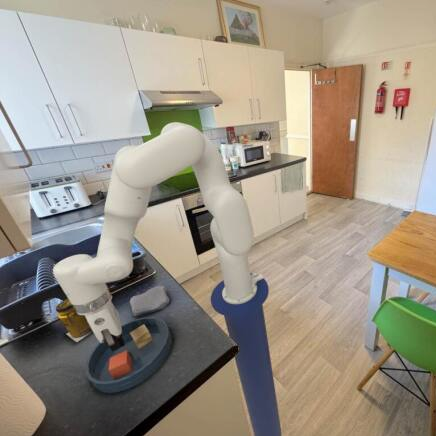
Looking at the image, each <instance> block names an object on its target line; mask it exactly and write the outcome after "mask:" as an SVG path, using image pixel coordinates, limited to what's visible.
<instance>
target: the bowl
mask: <svg viewBox="0 0 436 436" xmlns="http://www.w3.org/2000/svg"><path fill="white" fill-rule="evenodd" d="M143 324H144V325H145V326H146V328H147V329H148V331H149V333H150V335H151V337H152V339H153V340H152V341H150V342H149V343H147V344H146V345H144V346H143V347H141V348H140V349H139V348H138V347H137V345H136V344H135V342H134V340H133V338H132V336H131V334H130V332H132V331H134V330H135V329H137V328H138V327H140V326H142V325H143ZM121 328H122V333H121V335H122V337H123V339H124V343H125V345H124V346H122V347H120V348H119V349H117V350H115V351H112V350H111V349H110V347H109V345H108V343H107V341H106V340H105V338H104V343H100V342H99V343H97V344H96V346H95V347H94V348H93V349H92V351H91V352H90V354H89V356H88V358H87V361H86V364H85V375H86V376H87V379H88V380H89V381H90V382H91V384H92V385H93V387H94V388H96V389H97V390H98V391H99V392H102V393H108V394H110V393H111V394H114V393H119V392H120V393H121V392H124V391H127V390H129V389H132V388H133V387H136V386H137V385H139V384H141V383H142V382H144V381H145V380H147V379H148V378H150V377H151V376H152V375H153V374H154V373H155V372H156V371H157V370H158V369H160V367H161V366H162V365H163V363H164V362H165V360H166V359H167V357H168V356H169V354H170V351H171V348H172V346H173V345H172V343H173V337H172V334H171V332H170V331H171V330H170V329H169V326H168V324H167V322H165V321H164V320H163V319H162V318H159V317H154V316H153V317H152V316H146V317H140V318H137V319H136V318H135V319H133V320H130V321H128V322H126V323H124V324H121ZM124 351H128V353H129V355H130V357H131V359H132V371H131V372H129V373H127V374H125V375H123V376H121V377H119V378H116V379H114V378H113V376H112V375H111V373H110V372H109V362H110V358H111V357H113V356H115V355H118V354H120V353H122V352H124Z"/></svg>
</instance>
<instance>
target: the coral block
mask: <svg viewBox="0 0 436 436" xmlns="http://www.w3.org/2000/svg"><path fill="white" fill-rule="evenodd" d="M131 371H132V359H131V357H130V355H129V353H128V351H124V352H122V353H120V354H118V355H115V356H113V357H111V358H110V362H109V372H110V373H111V375H112V376H113V378H114V379H116V378H119V377H121V376H123V375H125V374H127V373H129V372H131Z"/></svg>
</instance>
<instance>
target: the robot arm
mask: <svg viewBox="0 0 436 436" xmlns="http://www.w3.org/2000/svg"><path fill="white" fill-rule="evenodd" d="M189 167H191V169H192V170H193V174H194V175H195V176H194V177H195V178H196V180H197V184H198V187H199V190H200V194H201V197H202V202H203V205H204V207H205V208H206V209H207V211H208V212H209V213H210V214H211V215H212V216H213V218H212V220H211V222H210V227H209V229H210V235H211V238H212V241H213V243H214V247H215V251H216V253H217V257H218V262H219V267H220V271H221V276H222V279H223V280H224V284H225V287H224V289H223V291H222V296H223V299H224V300H225V301H226V302H227V303H230V304H242V303H245V302H247V301H249V300H251V299H252V298H253V297H254V296H255V294H256V292H257V285H256V283H257V281H259V280H261V279H263V278H264V276H263V274H262V273H260V274H257V273H256V272H254V273H252V275H250V273H251V269H250V263H249V257H248V252H249V251H250V250H251V249H252V247H253V245H254V243H255V234H254V227H253V224H252V223H253V222H252V219H251V215H250V210H249V207H248V204H247V201H246V199H245V197H244V196H243V195H242V193H241V192H240V191H238V190H237V189H235V188H234V187H233V185H232V184H231V181H230V178H229V174H228V171H227V168H226V166H225V162H224V159H223V157H222V154H221V152H220V151H219V149H218V147H217V146H216V144H215V143H214V142H213V141H212V140H211V139H210V138H209V137H208V136H207V135H206V134H205V133H203V132H201V131H200V130H199V129H198V128H196V127H195V126H194V125H193V126H192V125H191V124H188V123H183V122H180V121H179V122H177V121H175V122H174V121H173V122H170V123H167V124H166V125H164V127H162V129H161V131H160V134H159V135H157V136H155V137H154V138H152V139H150V140H147V141H146V142H144V143H141V144H139V145H134V144H133V145H125V146H123V147H121V148H120V149H119V150H118V151H117V152H116V154H115V156H114V160H113V164H112V170H111V173H110V179H109V184H108V189H107V194H106V199H105V204H104V209H103V212H104V217H103V223H102V228H101V232H100V239H99V242H98V247H97V252H96V256H95V257H92V256H91V255H90V254H88V253H87V254H85V253H79V254H73V255H70V256H68V257H66V258H63V259H61V260H59V262H57V263H55V265H54V266H53V269H52V274H53V276H54V278H55V279H56V281H57V283H58V284H59V286H60V288H61V289H62V291H63V293H64V294H65V296H66V297H67V299H69V301H70V302H71V304H72V306H73V307H74V309H75V310H76V312H77V314H79V315H85V317H86V319H87V322H88V323H89V325H90V327H91V329H92V332H93V335H94V336H95V337H96V339H97V340H98V342H99V343H104V338H105V340H106V341H107V343H108V345H109V347H110V349H111V350H112V351H115V350H117V349H119V348H120V347H122V346H124V345H125V343H124V339H123V337H122V335H121V333H122V328H121V326H122V322H121V318H120V314H119V312H118V310H117V309H116V307H115V305H114V303H113V302H112V300H113V295H112V293H111V291H110V289H109V287H108V285H107V283H113V282H117V281H120V280H123V279H125V278H127V277H128V276H129V275H130V274H131V273H132V272H133V269H134V260H133V259H134V258H133V250H132V249H133V242H134V238H135V234H136V231H137V227H138V224H139V222H140V220H141V219H144V217H145V216H146V214H147V211H148V206H149V203H150V198H151V194H152V191H153V187H155V186H157V185H159V184H161V183H162V182H165V181H166V180H168V179H170V178H172V177H173V176H176V175H177V174H179V173H180V172H182V171H184V170H185V169H187V168H189ZM257 275H258V276H257ZM256 276H257V277H256ZM223 280H222V281H223Z"/></svg>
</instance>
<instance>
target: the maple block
mask: <svg viewBox="0 0 436 436" xmlns="http://www.w3.org/2000/svg"><path fill="white" fill-rule="evenodd" d="M130 334H131V336H132V338H133V340H134V342H135V344H136V345H137V347H138V348H139V349H140V348H141V347H143V346H144V345H146V344H147V343H149V342H150V341H152V340H153V339H152V337H151V335H150V333H149V331H148V329H147V328H146V326H145V325H144V324H143V325H142V326H140V327H138V328H137V329H135V330H134V331H132V332H130Z"/></svg>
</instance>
